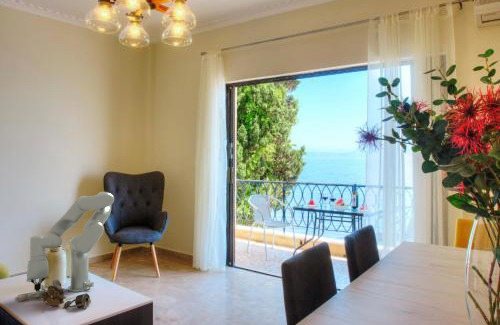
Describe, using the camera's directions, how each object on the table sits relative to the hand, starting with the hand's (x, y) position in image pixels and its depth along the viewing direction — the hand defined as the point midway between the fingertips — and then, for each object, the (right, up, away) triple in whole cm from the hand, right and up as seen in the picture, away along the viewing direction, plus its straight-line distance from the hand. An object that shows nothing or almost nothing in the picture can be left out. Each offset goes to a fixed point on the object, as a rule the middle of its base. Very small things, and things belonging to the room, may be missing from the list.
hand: (37, 290), depth 198 cm
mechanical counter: (+29, -4, -14) cm, 33 cm away
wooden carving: (+16, -3, -12) cm, 20 cm away
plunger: (+3, -2, 0) cm, 4 cm away
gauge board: (+1, -3, +1) cm, 3 cm away
